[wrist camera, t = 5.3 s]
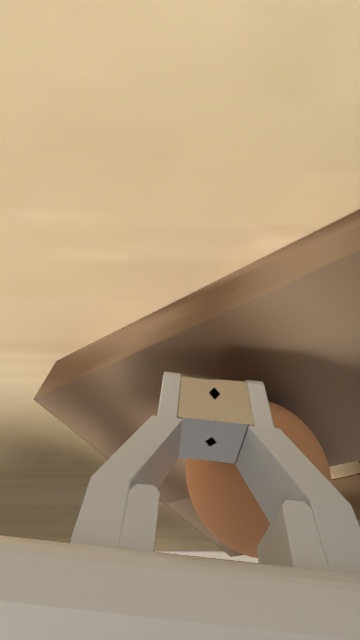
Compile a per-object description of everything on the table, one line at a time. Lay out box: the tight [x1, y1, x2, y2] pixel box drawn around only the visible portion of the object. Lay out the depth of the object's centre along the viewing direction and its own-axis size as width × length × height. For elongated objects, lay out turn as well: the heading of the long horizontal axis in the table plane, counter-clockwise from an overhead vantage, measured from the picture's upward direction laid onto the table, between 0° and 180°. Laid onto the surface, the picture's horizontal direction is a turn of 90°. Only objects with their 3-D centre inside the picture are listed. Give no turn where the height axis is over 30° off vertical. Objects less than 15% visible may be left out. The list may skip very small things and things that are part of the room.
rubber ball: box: [186, 401, 331, 558], centre depth 11 cm, size 5×5×5 cm
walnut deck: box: [34, 210, 360, 557], centre depth 16 cm, size 16×20×2 cm
